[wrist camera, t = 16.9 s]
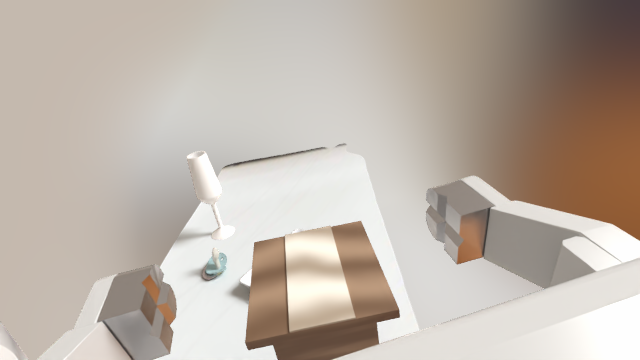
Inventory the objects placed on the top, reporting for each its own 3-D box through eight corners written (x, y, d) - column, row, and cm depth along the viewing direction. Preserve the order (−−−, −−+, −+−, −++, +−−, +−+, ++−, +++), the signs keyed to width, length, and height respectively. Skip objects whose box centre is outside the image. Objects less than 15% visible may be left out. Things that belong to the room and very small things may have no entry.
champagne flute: (222, 224, 100) (196, 149, 89) (239, 227, 96) (215, 150, 86) (206, 237, 94) (176, 159, 84) (223, 241, 91) (195, 161, 81)
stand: (410, 460, 42) (399, 307, 30) (299, 486, 41) (244, 341, 30) (377, 352, 55) (360, 219, 44) (293, 371, 55) (253, 241, 43)
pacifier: (201, 285, 77) (227, 277, 78) (191, 264, 75) (218, 256, 75) (204, 264, 84) (228, 258, 85) (195, 245, 81) (220, 238, 82)
